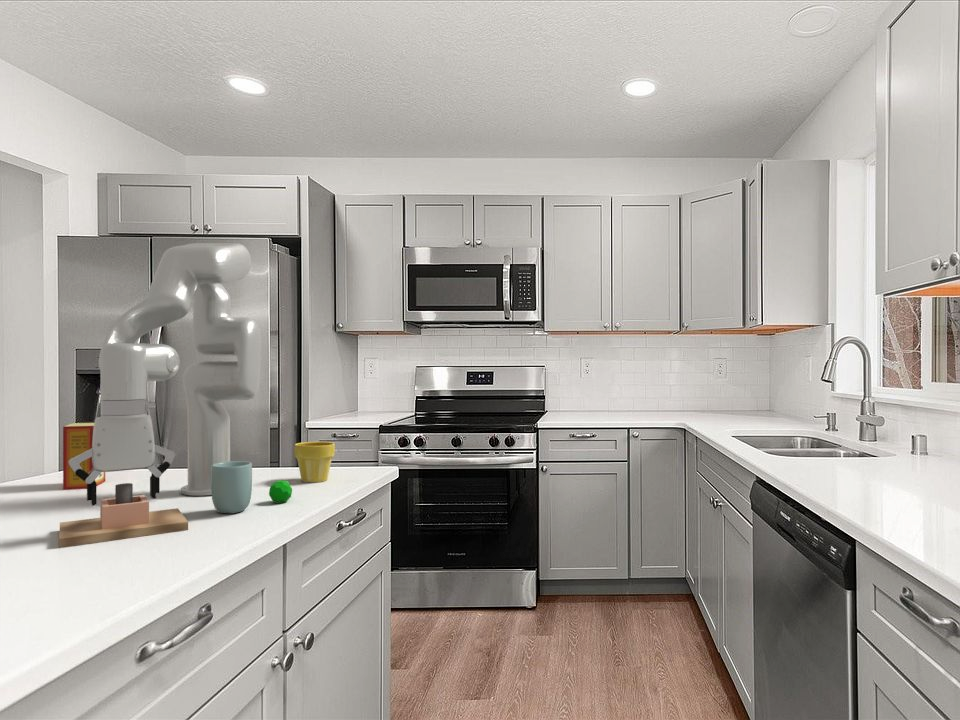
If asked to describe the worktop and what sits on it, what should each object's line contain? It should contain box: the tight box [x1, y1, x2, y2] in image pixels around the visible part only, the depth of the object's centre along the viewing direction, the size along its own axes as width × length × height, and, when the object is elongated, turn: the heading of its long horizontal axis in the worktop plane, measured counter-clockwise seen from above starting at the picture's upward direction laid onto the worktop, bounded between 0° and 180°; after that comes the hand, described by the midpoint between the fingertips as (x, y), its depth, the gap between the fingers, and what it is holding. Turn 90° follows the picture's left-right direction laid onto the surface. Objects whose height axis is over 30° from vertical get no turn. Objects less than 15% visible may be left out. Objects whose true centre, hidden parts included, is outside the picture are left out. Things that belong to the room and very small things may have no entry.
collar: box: [99, 494, 150, 529], centre depth 116 cm, size 7×7×4 cm
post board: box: [58, 482, 189, 548], centre depth 116 cm, size 20×13×8 cm, turn 124°
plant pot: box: [293, 441, 336, 483], centre depth 165 cm, size 10×10×10 cm
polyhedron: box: [268, 479, 293, 504], centre depth 139 cm, size 5×5×5 cm
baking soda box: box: [62, 422, 106, 491], centre depth 159 cm, size 10×6×16 cm
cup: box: [211, 460, 253, 515], centre depth 130 cm, size 8×8×10 cm
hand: (124, 500), depth 116 cm, fingers open, 9 cm apart
